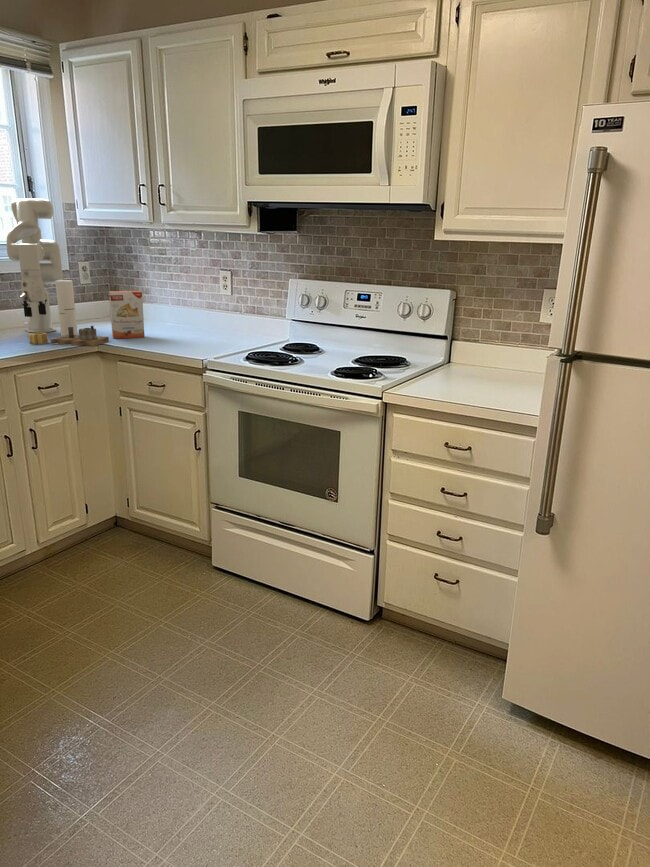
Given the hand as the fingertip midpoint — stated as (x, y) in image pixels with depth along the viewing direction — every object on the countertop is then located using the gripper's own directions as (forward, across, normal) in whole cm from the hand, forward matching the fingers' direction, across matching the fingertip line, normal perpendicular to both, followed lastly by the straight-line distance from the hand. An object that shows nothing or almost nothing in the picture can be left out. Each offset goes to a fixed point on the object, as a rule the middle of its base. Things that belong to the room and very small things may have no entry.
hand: (35, 315), depth 275 cm
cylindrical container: (+12, +21, -2) cm, 24 cm away
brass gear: (+12, +1, 0) cm, 12 cm away
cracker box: (+12, +26, -28) cm, 40 cm away
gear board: (+12, +7, -16) cm, 21 cm away
